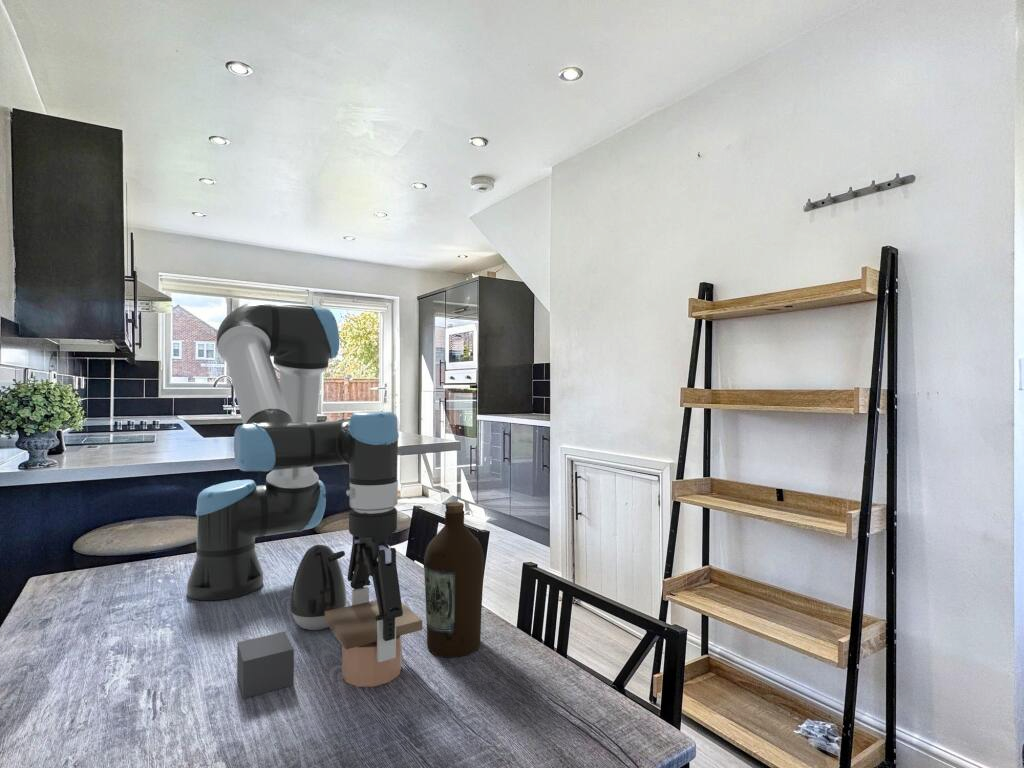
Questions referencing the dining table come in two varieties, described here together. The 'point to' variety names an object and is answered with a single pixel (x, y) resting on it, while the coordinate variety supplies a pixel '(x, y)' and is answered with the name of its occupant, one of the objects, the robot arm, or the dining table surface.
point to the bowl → (370, 665)
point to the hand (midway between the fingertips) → (372, 642)
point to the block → (265, 664)
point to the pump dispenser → (317, 587)
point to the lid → (366, 623)
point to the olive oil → (454, 587)
